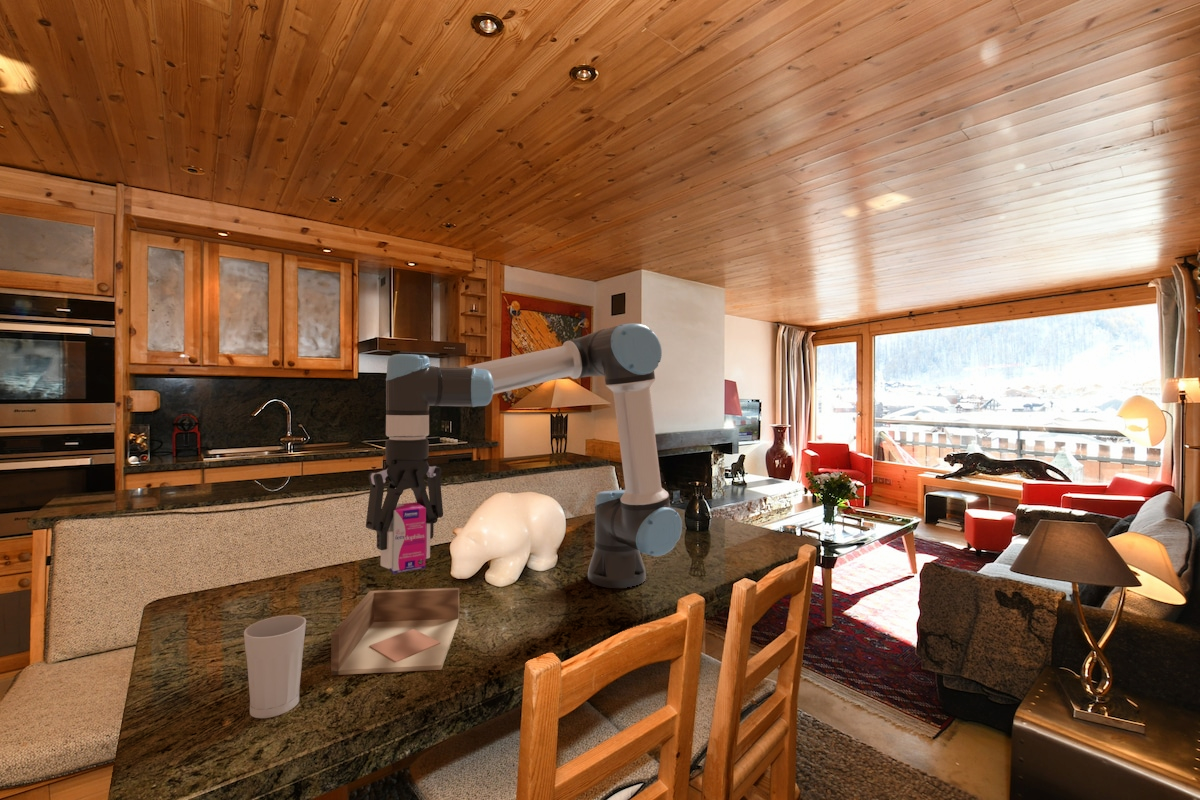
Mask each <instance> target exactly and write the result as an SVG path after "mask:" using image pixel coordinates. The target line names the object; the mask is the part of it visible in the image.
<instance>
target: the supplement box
mask: <svg viewBox="0 0 1200 800" xmlns="http://www.w3.org/2000/svg"><path fill="white" fill-rule="evenodd" d="M389 530H390V531H393V566H392V568H390V569H389V571H390V572H391V573H392V574H399V573H403V572H404V573H405V572H410V571H417V570H424V569H425V568H426V558H425V538H426V508H425V507H424V506H422V505H421V504H419V503H417V501H416V502H408V503H407V502H406V503H397V506H396V509H395V510H394V511H393V518H392V521H391V524H390V527H389Z"/></svg>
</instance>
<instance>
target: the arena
mask: <svg viewBox="0 0 1200 800" xmlns="http://www.w3.org/2000/svg"><path fill="white" fill-rule="evenodd" d="M459 622H460V587H445V588H442V587H441V588H417V589H416V588H415V589H411V588H410V589H387V590H386V589H385V590H383V589H382V590H381V589H380V590H369V591H368V592H367V594H366V595H365V596H363V598H362V599H361V600H360V601H359V602H358V604H357V605H356V606H355V607H354V608H353V609H352V610H351V612H350V613H349V614H348V615H347V616H346V617H345V618H344V620H343V621H342V622H341V623H340V624H339V625H338V627H337V628H336V629H335V630H334V631H333V632H332V634H331V635H330V636H331V638H330V639H331V640H330V641H331V642H330V648H331V649H330V653H331V654H330V657H331V658H330V676H342V675H344V676H345V675H358V674H359V675H362V674H374V673H375V674H380V673H399V672H401V673H402V672H421V671H422V672H423V671H437V670H439V671H440V670H442V669H443V667H444V663H445V661H446V658H447V656H448V655H447V654H448V653H449V649H450V647H451V644H452V641H453V638H454V635H455V633H456V629H457V627H458V625H459Z"/></svg>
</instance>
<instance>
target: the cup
mask: <svg viewBox="0 0 1200 800" xmlns="http://www.w3.org/2000/svg"><path fill="white" fill-rule="evenodd" d="M306 626H307V619H306V618H305V617H304V616H302V615H297V614H284V615H277V616H272V617H267V618H264V619H261V620H258V621H256V622H254V623H252V624H250V625H249V626H247V627H246V628H245V629H244V630H243V637H244V639H243V640H244V649H245V650H244V651H245V656H246V667H247V677H248V689H249V715H250V716H251V717H253V718H256V719H268V718H273V717H277V716H280V715H283V714H285V713H287V712H289V711H290V710H292V709H294V708H295V707H296V706H297V705H298V704H299V702H300V688H301V686H300V685H301V677H302V676H301V675H302V674H301V673H302V666H303V665H302V664H303V655H304V654H303V653H304V643H305V636H306V635H305V634H306Z"/></svg>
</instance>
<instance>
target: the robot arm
mask: <svg viewBox="0 0 1200 800" xmlns="http://www.w3.org/2000/svg"><path fill="white" fill-rule="evenodd" d="M662 350H663V349H662V345H661V341H660V340H659V337H658V335H657V334H656V332H654V331H653V330H652V329H650V328H649V327H648V326H647V325H645V324H643V323H637V322H636V323H624V324H619V325H617V326H616V325H615V326H612V327H608V328H603V329H600V330H597V331H594V332H591V333H589V334H586V335H584V336H581V337H577V338H574V339H569V340H566V341H564V342H563V343H562V346H561V345H560V346H557V347H552V348H547V349H543V350H538V351H531V352H527V353H523V354H517V355H514V356H513V355H512V356H508V357H504V358H498V359H493V360H489V361H484V362H480V363H474V364H470V365H465V366H460V367H439V366H433V365H432V364H431V362H430V361H431V360H430V358H429V356H427V355H425V354H412V353H410V354H409V353H398V354H397V353H396V354H392V355H390V356H389V357H388V359H387V365H386V366H387V368H386V378H385V381H386V382H385V385H386V386H385V396H386V397H385V406H386V407H385V410H386V411H385V414H386V415H385V436H386V437H389V438H388V439H387V440H385V446H384V447H385V448H384V449H385V453H384V455H385V461H386V464H385V466H384V468H383V469H382V470H381V471H378V472H370V473H368V481H369V485H370V487H369V489H370V490H369V495H368V504H367V512H366V521H365V528H366V529H368V530H372V531H375V532H376V549H377V550H380V567H383V568H385V569H387V570H390V568H392V566H393V531H390V530H389V527H390V524H391V521H392V518H393V511H394V510H395V509H396V506H397V504H399V503H398V502H399V500H400V498H401V495H402V494H403V493H404V490H407V489H409V488H410V489H411V491H412V492H413V495H414V497H415V500H416V502H417V503H419V504H421V505H422V506H424V507H425V508H426V538H425V560H426V559H431V540H432V539H433V538H434V532H435V531H434V530H435V529H434V525H435V524H436V523H437V522H438V519H439V518H440V519H441V518H442V517H443V516H444V508H443V507H444V505H443V498H442V496H443V495H442V484H441V476H442V474H443V473H442V472H443V469H442V467H441V466H436V465H431V466H430V464H429V462H428V458H429V450H430V449H429V447H430V446H429V445H430V444H429V442H430V441H429V440H428V438H426V437H428V436H429V435H430V406H431V407H438V406H439V407H472V408H475V407H485V406H488V405H489V404H490V403H491V402H492V400H493V396H494V395H495V394H500V393H504V392H509V391H512V390H518V389H522V388H526V387H530V386H533V385H538V384H542V383H546V382H547V383H548V382H551V381H555V380H560V379H563V378H568V377H569V378H571V379H574V380H576V379H581V378H587V377H604V381H605V382H604V383H605V387H606V388H607V389H609V390H610V391H611V392H612V393H613V394H612V395H613V401H614V408H615V409H614V411H615V417H616V418H615V419H616V424H617V425H616V426H617V433H618V434H617V435H618V440H619V441H618V442H619V448H620V458H621V464H622V465H621V466H622V473H623V480H624V481H623V482H624V487H625V489H617V490H616V489H615V490H614V489H613V490H604V491H600V492H598V493H597V494H595V495H596V496H595V501H594V502H595V503H594V549H593V553H592V556H591V559H590V561H589V566H588V569H587V579H588V582H589V583H591V584H593V585H595V586H599V587H602V588H608V589H628V588H627V587H630V588H633V587H632V586H635V587H637V586H636V585H638V586H640V585H639V584H641V583H642V584H644V583H645V582H646V580H645V579H647V578H646V573H647V571H646V567H645V564H644V561H643V558H642V555H641V554H644V555H648V556H651V557H661V556H664V555H667V554H669V552H671V551H672V550H673V549H674V548H675V547H676V544H677V542H679V540H680V538H681V536H682V532H683V521H682V518H681V516H680V515H681V514H680V513H679V512H677V511H676V510H675V508H672V507H671V502H670V494H669V492H668V491H667V490H665V488H663V487H662V481H661V473H660V464H659V462H660V461H659V455H658V447H657V439H656V430H655V422H654V414H653V407H652V406H653V405H652V398H651V386H652V384H653V383H654V382H655V381H656V375H655V370H656V369H657V368H658V367H659V363H660V362H661V360H662V354H663V351H662ZM426 476H427V485H426V481H425V478H426ZM386 479H387V480H388V481H389V482H388V484H387V487H386V494H385V497H384V489H385V483H386V482H387V481H386ZM427 487H428V492H427ZM644 581H645V582H644ZM643 582H644V583H643ZM642 584H641V585H642Z"/></svg>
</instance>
